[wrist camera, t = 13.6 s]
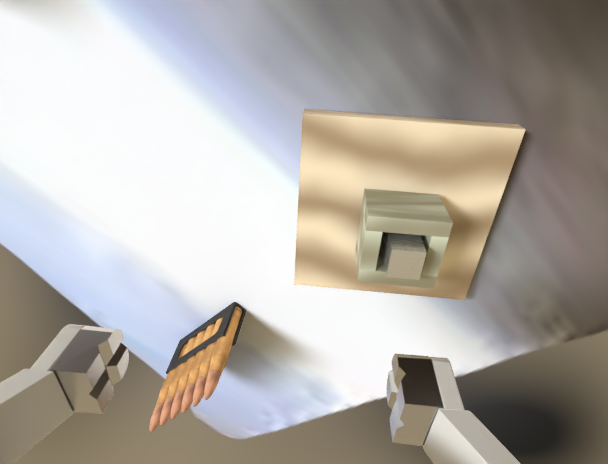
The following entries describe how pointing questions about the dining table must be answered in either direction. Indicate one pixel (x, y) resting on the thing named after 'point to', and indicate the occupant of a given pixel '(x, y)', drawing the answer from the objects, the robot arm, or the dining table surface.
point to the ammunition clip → (198, 364)
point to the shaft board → (397, 177)
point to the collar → (406, 220)
